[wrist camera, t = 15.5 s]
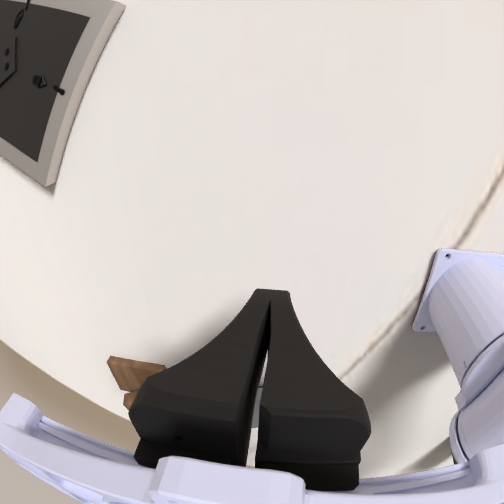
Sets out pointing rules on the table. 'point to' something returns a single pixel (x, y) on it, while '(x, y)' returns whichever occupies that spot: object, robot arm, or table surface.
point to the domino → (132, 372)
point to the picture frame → (47, 75)
